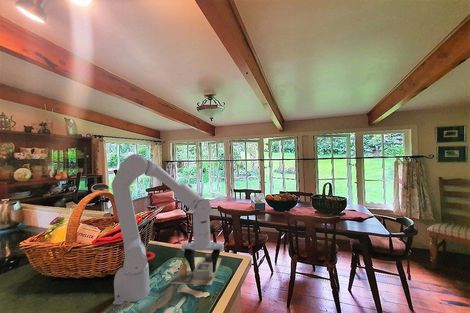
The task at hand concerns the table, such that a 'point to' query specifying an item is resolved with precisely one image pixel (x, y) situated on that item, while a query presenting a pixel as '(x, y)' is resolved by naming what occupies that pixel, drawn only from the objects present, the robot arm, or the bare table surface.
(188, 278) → the square tray with peg
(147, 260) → the tow hook
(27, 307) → the table surface
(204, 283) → the board
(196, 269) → the square metal tube
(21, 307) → the table surface
